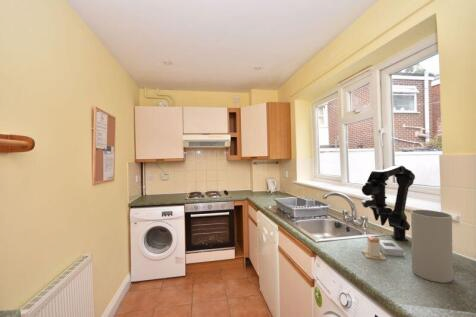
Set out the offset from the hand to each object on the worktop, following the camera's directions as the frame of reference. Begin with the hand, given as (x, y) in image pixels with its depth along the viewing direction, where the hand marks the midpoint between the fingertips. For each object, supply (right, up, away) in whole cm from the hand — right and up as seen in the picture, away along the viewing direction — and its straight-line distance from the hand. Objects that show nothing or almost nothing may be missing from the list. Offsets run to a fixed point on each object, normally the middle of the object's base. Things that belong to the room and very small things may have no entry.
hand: (379, 222), depth 123 cm
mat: (-11, -12, -13) cm, 21 cm away
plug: (-11, -12, -13) cm, 20 cm away
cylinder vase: (+2, -13, -31) cm, 34 cm away
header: (0, -12, -7) cm, 14 cm away
